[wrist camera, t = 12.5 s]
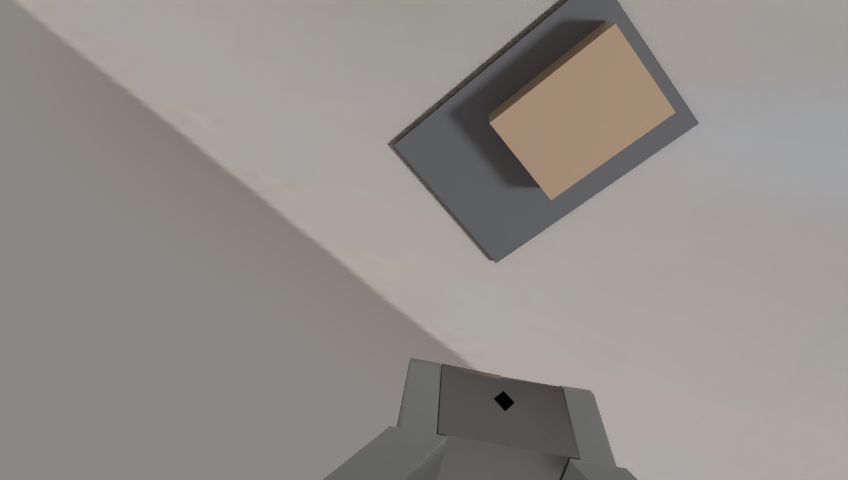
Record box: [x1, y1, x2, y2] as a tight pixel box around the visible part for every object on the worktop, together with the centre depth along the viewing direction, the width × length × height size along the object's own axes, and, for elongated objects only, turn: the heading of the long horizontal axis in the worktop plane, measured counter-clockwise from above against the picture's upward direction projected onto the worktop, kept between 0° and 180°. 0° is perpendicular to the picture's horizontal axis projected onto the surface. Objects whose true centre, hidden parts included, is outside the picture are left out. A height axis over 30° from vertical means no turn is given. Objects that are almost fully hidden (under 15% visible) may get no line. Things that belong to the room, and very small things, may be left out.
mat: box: [394, 0, 698, 263], centre depth 46 cm, size 20×14×1 cm
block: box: [488, 21, 675, 200], centre depth 44 cm, size 3×8×11 cm
